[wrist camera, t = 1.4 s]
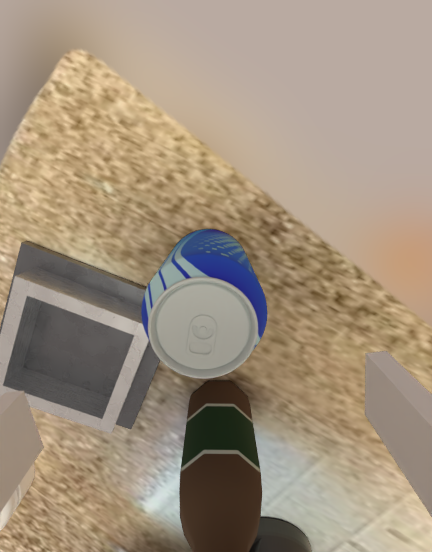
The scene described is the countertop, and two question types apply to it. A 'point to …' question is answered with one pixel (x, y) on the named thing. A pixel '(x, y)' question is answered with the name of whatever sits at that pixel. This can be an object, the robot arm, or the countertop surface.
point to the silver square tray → (75, 340)
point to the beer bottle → (220, 471)
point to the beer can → (204, 306)
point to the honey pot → (17, 497)
